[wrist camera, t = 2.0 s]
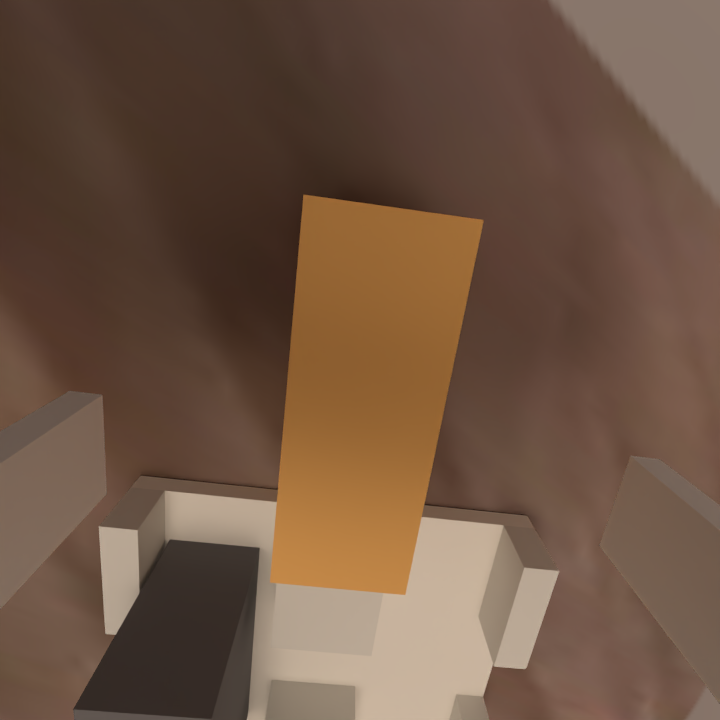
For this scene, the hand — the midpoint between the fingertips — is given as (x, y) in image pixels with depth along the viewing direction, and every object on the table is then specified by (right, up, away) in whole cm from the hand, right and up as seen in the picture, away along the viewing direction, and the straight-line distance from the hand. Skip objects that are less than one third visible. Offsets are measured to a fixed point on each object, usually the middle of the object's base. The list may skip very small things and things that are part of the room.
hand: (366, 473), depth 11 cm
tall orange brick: (0, +3, +9) cm, 10 cm away
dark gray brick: (-8, -12, +13) cm, 20 cm away
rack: (-2, -13, +14) cm, 19 cm away
